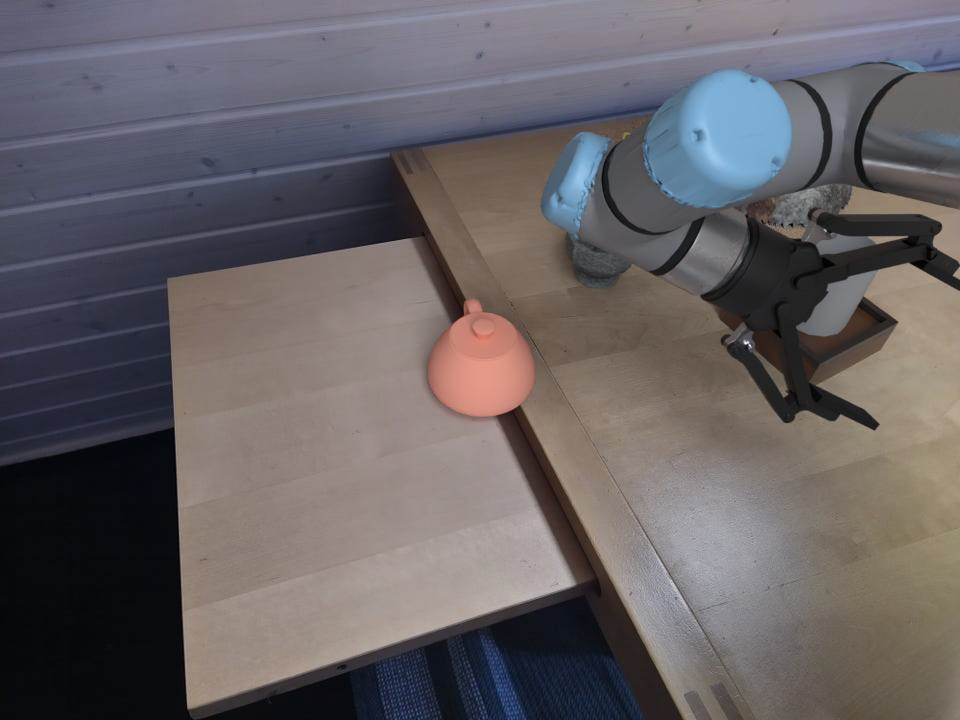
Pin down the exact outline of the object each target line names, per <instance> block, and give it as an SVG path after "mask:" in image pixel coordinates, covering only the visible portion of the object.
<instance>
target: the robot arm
mask: <svg viewBox="0 0 960 720" xmlns="http://www.w3.org/2000/svg"><path fill="white" fill-rule="evenodd" d="M630 133H631V134H630V135H629V136H628V137H626V138H625V139H623V140H622V139H621V140H619V141H617V143H616V142H614V141H613V139H612V138H610V137H605V136H602V135H599V134H597V133H595V132H592V131H581V132H578V133H577V134H575V135H574V136H573V137H572V138H571V139H570V140H569V141H568V143H567V144H566V145H565V146H564V148H563V150H562V152H561V153H560V155H559V156H558V157H557V160H556V162H555V163H554V165H553V167H552V170H551V171H550V173H549V175H548V178H547V181H546V183H545V186H544V189H543V191H542V195H541V199H540V210H541V213H542V216H543V218H545V219H546V221H548V222H549V223H551V224H552V225H555V226H556V227H558V228H560V229H562V230H563V231H565V232H566V233H567V232H568V233H570V234H572V235H573V237H574V238H576V239H577V240H579V239H581V240H583V241H585V242H587V243H589V244H591V245H593V246H596V247H598V248H600V249H602V250H604V251H606V252H608V253H610V254H612V255H614V256H616V257H618V258H620V259H622V260H624V261H627V262H629V263H631V264H632V265H633V266H635V267H636V268H639V269H641V270H643V271H645V272H647V273H650V274H651V275H652V276H654V277H656V278H658V279H659V280H662V281H663V282H666V283H668V284H670V285H672V286H673V287H676V288H677V289H680V290H682V291H684V292H686V293H688V294H690V295H692V296H697V297H698V296H699V297H700V298H701V300H703V301H704V302H706V303H709V304H710V305H712V306H714V307H716V308H718V309H720V310H722V311H723V312H724V311H726V312H728V313H730V314H732V315H734V316H736V317H738V318H740V319H741V321H742V323H741V324H740V325H739V327H738V328H737V329H736V330H735V331H732V334H731V333H725V334H723V335H722V336H721V338H720V340H719V342H720V345H721V347H723V349H725V351H726V352H727V353H728V355H730V357H732V358H733V359H735V361H737V362H739V363H741V364H742V365H743V367H744V368H745V370H746V371H747V373H748V374H749V376H750V377H751V379H752V380H753V382H754V384H755V385H756V387H757V388H758V389H759V391H760V392H761V394H762V396H763V398H764V399H765V400H766V402H767V404H768V406H770V408H771V409H772V410H773V412H774V413H775V414H776V415H777V417H778V418H779V419H780V421H782V422H783V423H784V424H791V423H793V421H794V420H795V419H796V415H797V414H799V413H800V412H803V411H807V412H810V413H811V414H813V415H816V416H818V417H819V418H822V419H824V420H826V421H828V422H836V421H837V420H838V418H839V417H840V416H842V417H845V418H847V419H849V420H851V421H854V422H855V423H858V424H860V425H862V426H864V427H866V428H867V429H870V430H872V431H874V432H875V431H876V430H877V429H878V427H880V425H881V423H879V422H878V421H877V420H876V419H875V417H873V416H872V415H871V414H870V413H869V412H868V411H867V410H866V409H865V408H862V407H861V406H858V405H857V404H854V403H852V402H850V401H848V400H846V399H844V398H843V397H840V396H838V395H836V394H834V393H832V392H830V391H828V390H825V389H824V388H822V387H820V386H818V385H813V384H811V383H808V379H807V375H806V371H805V367H804V364H803V360H802V356H801V352H800V348H799V343H800V340H799V336H798V332H797V328H796V326H798V325H800V324H801V323H802V322H804V323H806V322H807V321H808V319H809V318H810V317H811V315H812V313H813V311H814V308H815V306H817V305H818V304H819V303H820V302H821V301H822V300H823V299H824V298H825V297H826V295H827V294H828V291H827V288H828V284H831V283H835V282H839V281H844V280H846V279H848V277H850V276H854V275H858V274H862V273H867V272H871V271H875V270H878V271H879V270H884V269H888V268H892V267H897V266H900V265H905V264H909V265H911V266H912V267H913V266H914V267H915V268H917V269H919V270H921V271H922V272H924V273H926V274H928V275H929V276H931V277H933V278H934V279H937V280H939V281H940V282H943V283H944V284H945V285H947V286H949V287H951V288H953V289H954V290H957V291H958V292H960V279H959V278H958V277H956V276H955V274H956V272H957V271H958V270H959V268H960V262H959V261H958V260H956V259H955V258H954V257H952V256H949V255H948V254H947V253H945V252H942V251H941V250H939V249H938V248H937V247H935V246H934V239H935V237H936V236H938V235H939V234H940V233H941V232H942V230H943V224H942V222H941V221H939V220H936V219H934V218H932V217H929V216H927V215H924V214H921V213H856V214H855V213H839V214H834V213H832V212H829V211H827V210H824V209H821V208H819V207H814V208H812V209H810V210H809V212H808V214H807V217H808V219H809V220H810V223H809V225H808V226H806V228H805V230H804V232H803V234H801V237H800V238H793V237H790V236H787V235H785V234H783V233H782V232H779V231H778V230H776V229H774V228H772V227H770V226H768V225H766V224H764V222H762V221H760V222H759V221H757V220H756V219H753V218H750V217H746V216H745V215H744V214H743V213H742V212H740V211H738V210H736V209H735V208H734V207H738V206H742V205H746V204H750V203H754V202H758V201H762V200H766V199H769V198H773V197H777V196H781V195H785V194H790V193H794V192H799V191H803V190H807V189H811V188H815V187H820V186H824V185H828V184H846V185H850V186H852V187H854V188H855V187H856V188H859V189H864V190H868V191H872V192H877V193H882V194H889V195H893V196H897V197H902V198H907V199H910V200H915V201H919V202H924V203H928V204H932V205H936V206H942V207H945V208H949V209H954V210H958V211H960V73H956V72H937V71H936V72H934V71H928V70H927V69H926V68H925V67H923V66H922V65H921V64H920V63H918V62H914V61H912V60H907V59H893V60H872V61H862V62H857V63H855V64H852V65H851V66H847V67H843V68H840V69H834V70H830V71H824V72H819V73H815V74H810V75H806V76H805V75H804V76H801V77H795V78H787V79H783V80H775V81H770V82H768V81H767V80H766V79H765V78H763V77H761V76H756V75H752V74H749V73H747V72H744V71H743V70H742V69H737V68H724V69H718V70H714V71H711V72H709V73H707V74H705V75H703V76H701V77H700V78H699V79H697V80H695V81H693V83H691V84H689V85H687V86H685V87H683V88H681V89H679V90H678V91H676V92H675V93H674V95H673V96H672V97H668V98H667V99H666V100H665V101H664V102H663V104H662V105H661V106H659V107H658V108H657V110H656V111H655V112H654V113H653V114H651V115H650V116H649V117H648V118H647V119H645V121H643V122H642V123H641V124H640V125H639V126H637V127H636V128H635V130H633V131H632V132H630ZM837 234H840V235H844V236H852V237H864V236H867V237H902V238H898V239H893V240H889V241H885V242H880V243H877V244H876V245H871V246H867V247H863V248H859V249H854V250H850V251H846V252H841V253H837V254H823V255H820V253H819V250H818V248H817V246H816V245H817V243H818V242H819V241H821V240H831V239H834V238H836V237H837ZM765 331H770V332H771V335H772V336H773V339H774V342H775V346H776V350H777V353H778V357H779V361H780V364H781V368H782V372H783V374H782V375H783V379H784V383H785V386H786V389H785V390H784V391H785V393H787V395H785V396H784V395H783V394H782V392H781V391H780V389H779V388H778V386H777V384H776V383H775V381H774V380H773V378H772V377H771V375H770V373H769V372H768V370H767V369H766V367H765V365H764V364H763V363H762V361H761V360H760V358H759V357H758V356H757V355H756V354H755V353H754V352H755V351H756V350H755V342H754V341H753V339H752V335H753V333H754V332H765Z"/></svg>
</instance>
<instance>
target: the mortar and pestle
mask: <svg viewBox="0 0 960 720" xmlns="http://www.w3.org/2000/svg"><path fill="white" fill-rule="evenodd" d="M565 250H566V251H567V253H568V255H569V258H570V259H571V262H572V263H573V265H574V268H573V269H574V270H573V273H574V276H575V277H576V279H577V281H578V283H581V284H582V285H584V286H586V287H588V288H590V289H598V290H599V289H602V290H606V289H608V288H610V287H613V286H615V285H617V283H618V280H619V278H620V275H621V274H623V273H626V272H627V271H628V270H629V269H630V268H631V267H632V265H633V264H631V263H629V262H627V261H624V260H622V259H620V258H618V257H616V256H614V255H612V254H610V253H608V252H606V251H604V250H602V249H600V248H598V247H596V246H593V245H591V244H589V243H587V242H585V241H583V240H581V239H579V240H577V239H576V238H574V237H573V235H572V234H570V233H568V232H567V231H566V234H565Z"/></svg>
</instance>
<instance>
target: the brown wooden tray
mask: <svg viewBox="0 0 960 720" xmlns="http://www.w3.org/2000/svg"><path fill="white" fill-rule="evenodd" d="M720 320H721V321H722V323H724V324H725V325H726V326H727V327H728V328H729V329H731V330H732V332H734V331H735V330H736V329H737V328H738V327H739V325H740V324H741V323H742V321H741V319H740V318H738V317H736V316H734V315H732V314H730V313H728V312H726V311H724V310H723V312H722V315H721V317H720ZM899 323H900V321H898V320H897V319H896V318H894V317H893V316H892V315H890V314H889V313H888V312H886V311H885V310H884V309H882V308H881V307H879V306H878V305H876V304H875V303H874V302H872V301H871V300H870V299H868V298H866V297H865V295H864V296H863V298H862V299H861V301H860V303H859V304H858V306H857V308H856V310H855V311H854V313H853V315H852V316H851V318H850V320H849V321H848V323H847V325H846V327H844V328H843V329H842V330H841V331H840V332H839V333H838V334H834V335H829V336H825V337H824V336H816V335H809V334H806V333H804V332H801V331H799V330H797V332H798V336H799V340H800V343H799V348H800V352H801V356H802V360H803V364H804V367H805V371H806V375H807V379H808V383H811V384H813V385H816V386H818V385H819V384H821V383H823V382H824V381H826V380H828V379H831V378H832V377H833V376H836V375H838V374H839V373H841V372H843V371H845V370H848V368H851V367H852V366H854V365H855V364H858V363H859V362H861V361H863V360H865V359H867V358H868V357H870V356H872V355H874V354H876V353H878V352H879V351H881V350H882V349H883V347H884V346H885V344H886V343H887V341H888V340H889V338H890V336H891V335H892V333H893V332H894V330H895V329H896V328H897V325H899ZM752 339H753V341H754V342H755V351H756V352H757V353H758V354H759V355H760V356H761V357H763V358H764V359H765V360H767V362H768V363H770V364H771V365H772V366H773V367H774V368H775V369H776V370H778V371H779V372H780V373H781V374H782V375H783V372H782V368H781V364H780V361H779V357H778V353H777V350H776V346H775V342H774V339H773V336H772V335H771V332H770V331H765V332H754V333H753V335H752Z"/></svg>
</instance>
